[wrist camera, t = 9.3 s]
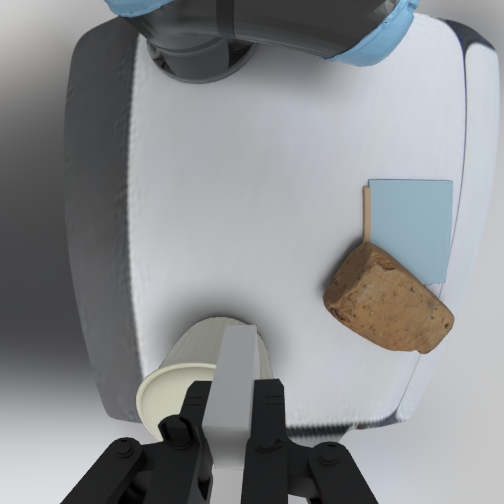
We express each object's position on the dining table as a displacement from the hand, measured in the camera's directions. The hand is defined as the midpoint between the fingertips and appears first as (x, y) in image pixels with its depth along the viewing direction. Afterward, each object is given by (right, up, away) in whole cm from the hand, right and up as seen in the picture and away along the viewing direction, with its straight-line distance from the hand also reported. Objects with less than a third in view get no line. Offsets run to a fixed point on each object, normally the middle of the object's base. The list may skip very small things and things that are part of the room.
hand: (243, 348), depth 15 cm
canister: (-4, -10, +34) cm, 35 cm away
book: (+24, +7, +27) cm, 36 cm away
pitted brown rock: (+12, +2, +23) cm, 26 cm away
